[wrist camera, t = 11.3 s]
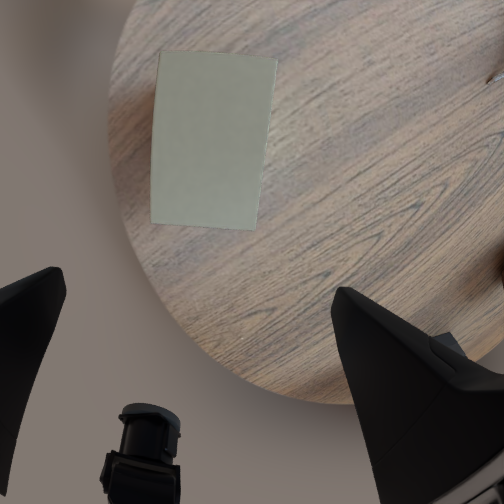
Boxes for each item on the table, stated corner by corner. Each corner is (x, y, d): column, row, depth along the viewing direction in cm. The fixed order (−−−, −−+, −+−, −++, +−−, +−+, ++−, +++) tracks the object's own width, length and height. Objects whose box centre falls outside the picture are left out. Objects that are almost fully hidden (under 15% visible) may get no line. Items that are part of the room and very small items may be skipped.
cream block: (251, 214, 16) (255, 231, 14) (160, 207, 16) (149, 224, 13) (270, 66, 13) (278, 58, 10) (170, 59, 12) (159, 50, 10)
